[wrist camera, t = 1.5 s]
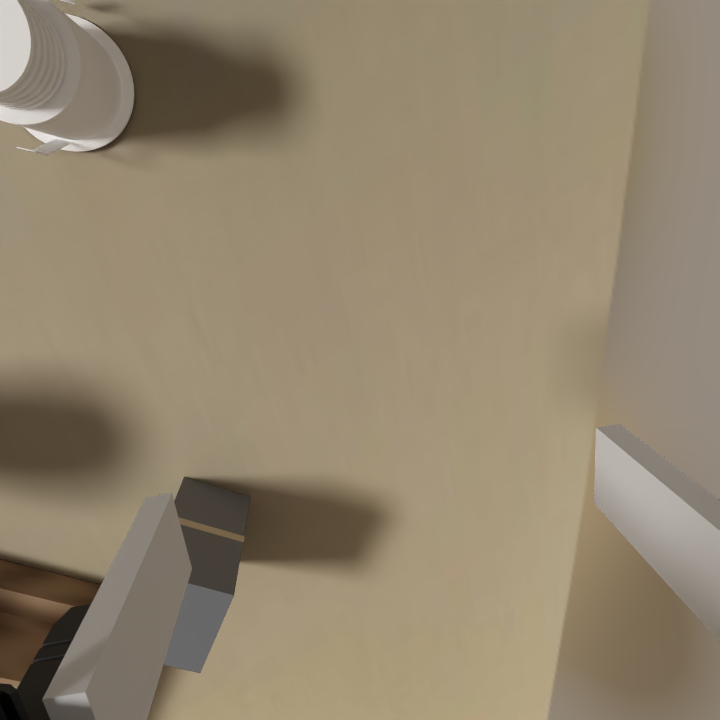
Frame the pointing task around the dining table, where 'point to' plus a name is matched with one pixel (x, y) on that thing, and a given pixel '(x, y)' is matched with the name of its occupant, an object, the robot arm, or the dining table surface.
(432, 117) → the dining table surface
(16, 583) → the pedestal
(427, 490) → the dining table surface
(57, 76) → the downlight
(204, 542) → the grey banded box
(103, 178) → the dining table surface
